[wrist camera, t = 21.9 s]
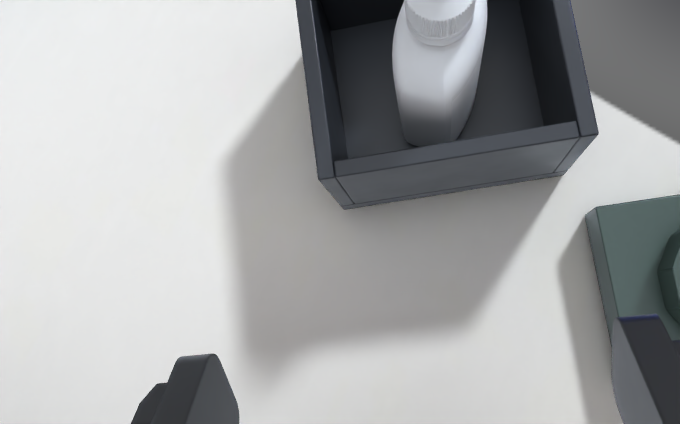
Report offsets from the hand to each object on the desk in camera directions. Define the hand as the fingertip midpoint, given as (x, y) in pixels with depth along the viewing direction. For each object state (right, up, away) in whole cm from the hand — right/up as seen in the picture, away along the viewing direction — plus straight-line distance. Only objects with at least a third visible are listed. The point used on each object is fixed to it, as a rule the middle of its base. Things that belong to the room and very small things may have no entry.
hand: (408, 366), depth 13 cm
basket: (+3, +9, +19) cm, 22 cm away
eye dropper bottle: (+4, +9, +19) cm, 21 cm away
